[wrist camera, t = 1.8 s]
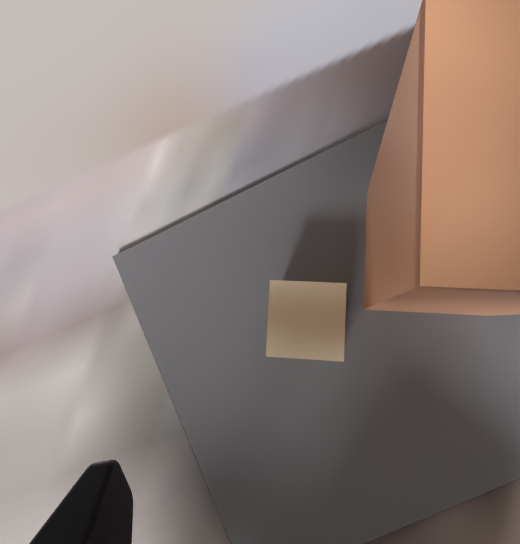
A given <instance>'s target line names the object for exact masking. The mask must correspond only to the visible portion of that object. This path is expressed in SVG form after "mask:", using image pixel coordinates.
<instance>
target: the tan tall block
mask: <svg viewBox="0 0 520 544" xmlns="http://www.w3.org/2000/svg"><path fill="white" fill-rule="evenodd" d="M363 310H383V311H403V312H423V313H443V314H463V315H483V316H499V315H519V314H520V0H423V1H422V4H421V8H420V11H419V15H418V18H417V21H416V25H415V28H414V32H413V35H412V39H411V42H410V46H409V49H408V52H407V56H406V59H405V63H404V66H403V70H402V73H401V77H400V80H399V83H398V87H397V90H396V94H395V97H394V101H393V104H392V107H391V111H390V114H389V118H388V121H387V125H386V128H385V132H384V135H383V138H382V142H381V145H380V149H379V152H378V156H377V159H376V163H375V166H374V169H373V173H372V176H371V180H370V183H369V187H368V190H367V207H366V237H365V268H364V299H363Z"/></svg>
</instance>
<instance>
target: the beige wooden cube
mask: <svg viewBox="0 0 520 544" xmlns="http://www.w3.org/2000/svg"><path fill="white" fill-rule="evenodd" d="M346 288H347V283H330V282H306V281H282V280H270V287H269V306H268V325H267V344H266V357H281V358H296V359H311V360H326V361H341V362H344V343H345V316H346Z"/></svg>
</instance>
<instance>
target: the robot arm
mask: <svg viewBox="0 0 520 544" xmlns="http://www.w3.org/2000/svg"><path fill="white" fill-rule="evenodd" d="M132 518H133V498H132V493H131V489H130V487H129V485H128V483H127V480H126V478H125V476H124V474H123V471H122V469H121V467H120V465H119V463H118V462H117V461H116V460H108V461H102V462H97V463H93V464H91V465H90V466H89V467H88V468H87V469H86V470H85V472H84V473H83V474H82V475H81V477H80V478H79V479H78V481H77V482H76V483H75V485H74V486H73V487H72V489H71V490H70V491H69V493H68V494H67V495H66V496H65V498H64V499H63V500H62V502H61V503H60V504H59V506H58V507H57V508H56V510H55V511H54V512H53V513H52V515H51V516H50V517H49V519H48V520H47V521H46V523H45V524H44V525H43V527H42V528H41V529H40V530H39V532H38V533H37V534H36V536H35V537H34V538H33V540H32V541H31V542H30V544H131V542H132Z"/></svg>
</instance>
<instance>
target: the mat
mask: <svg viewBox="0 0 520 544" xmlns="http://www.w3.org/2000/svg"><path fill="white" fill-rule="evenodd" d="M387 121H388V120H386V121H384V122H382V123H380V124H378V125H376V126H374V127H372V128H370V129H368V130H366V131H364V132H362V133H360V134H358V135H356V136H354V137H352V138H350V139H348V140H346V141H344V142H342V143H340V144H338V145H336V146H334V147H332V148H330V149H328V150H326V151H324V152H322V153H320V154H318V155H316V156H313V157H311V158H309V159H307V160H305V161H303V162H301V163H299V164H297V165H295V166H293V167H291V168H289V169H287V170H285V171H283V172H281V173H279V174H277V175H275V176H273V177H271V178H269V179H267V180H265V181H263V182H261V183H259V184H257V185H255V186H253V187H251V188H249V189H247V190H245V191H243V192H241V193H239V194H237V195H235V196H233V197H231V198H229V199H227V200H225V201H223V202H221V203H219V204H217V205H215V206H213V207H211V208H209V209H207V210H205V211H203V212H201V213H199V214H197V215H195V216H193V217H191V218H189V219H187V220H185V221H183V222H181V223H179V224H177V225H175V226H173V227H171V228H169V229H167V230H165V231H163V232H161V233H159V234H157V235H155V236H153V237H151V238H149V239H147V240H145V241H143V242H141V243H139V244H137V245H135V246H133V247H131V248H129V249H127V250H125V251H123V252H121V253H119V254H117V255H115V256H113V259H114V261H115V264H116V266H117V269H118V271H119V274H120V276H121V278H122V281H123V283H124V286H125V288H126V290H127V293H128V295H129V298H130V300H131V303H132V305H133V307H134V310H135V312H136V315H137V317H138V320H139V322H140V324H141V327H142V329H143V332H144V334H145V337H146V339H147V341H148V344H149V346H150V349H151V351H152V353H153V356H154V358H155V361H156V363H157V366H158V368H159V370H160V373H161V375H162V378H163V380H164V383H165V385H166V387H167V390H168V392H169V395H170V397H171V400H172V402H173V404H174V407H175V409H176V412H177V414H178V417H179V419H180V421H181V424H182V426H183V429H184V431H185V433H186V436H187V438H188V441H189V443H190V446H191V448H192V450H193V453H194V455H195V458H196V460H197V463H198V465H199V467H200V470H201V472H202V475H203V477H204V480H205V482H206V484H207V487H208V489H209V492H210V494H211V497H212V499H213V501H214V504H215V506H216V509H217V511H218V513H219V516H220V518H221V521H222V523H223V526H224V528H225V530H226V533H227V535H228V538H229V540H230V543H231V544H365V543H368V542H370V541H372V540H375V539H377V538H380V537H382V536H384V535H387V534H389V533H391V532H394V531H396V530H399V529H401V528H403V527H406V526H408V525H410V524H413V523H415V522H418V521H420V520H422V519H425V518H427V517H430V516H432V515H434V514H437V513H439V512H441V511H444V510H446V509H449V508H451V507H453V506H456V505H458V504H461V503H463V502H465V501H468V500H470V499H472V498H475V497H477V496H480V495H482V494H484V493H487V492H489V491H491V490H494V489H496V488H499V487H501V486H503V485H506V484H508V483H511V482H513V481H515V480H518V479H520V314H519V315H499V316H483V315H463V314H443V313H423V312H403V311H383V310H363V299H364V268H365V237H366V207H367V190H368V187H369V183H370V180H371V176H372V173H373V169H374V166H375V163H376V159H377V156H378V152H379V149H380V145H381V142H382V138H383V135H384V132H385V128H386V125H387ZM270 280H282V281H306V282H330V283H347V288H346V316H345V343H344V362H341V361H326V360H311V359H296V358H281V357H266V344H267V325H268V306H269V287H270Z"/></svg>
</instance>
